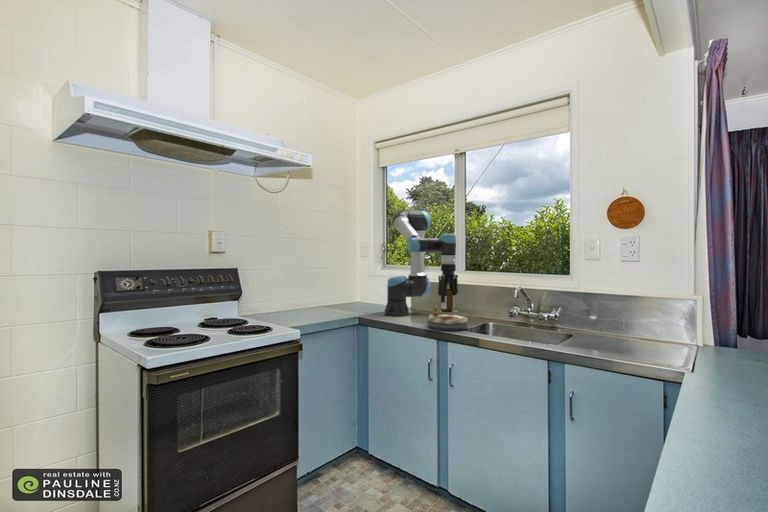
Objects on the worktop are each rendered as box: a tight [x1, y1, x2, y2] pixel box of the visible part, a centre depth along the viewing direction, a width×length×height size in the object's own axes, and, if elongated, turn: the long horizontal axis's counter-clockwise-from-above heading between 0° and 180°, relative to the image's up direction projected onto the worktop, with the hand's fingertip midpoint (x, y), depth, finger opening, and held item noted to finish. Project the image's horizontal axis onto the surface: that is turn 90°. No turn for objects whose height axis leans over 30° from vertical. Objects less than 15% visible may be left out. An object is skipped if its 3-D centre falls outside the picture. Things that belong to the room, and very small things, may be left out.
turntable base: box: [427, 314, 469, 332], centre depth 205 cm, size 21×21×5 cm
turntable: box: [428, 305, 469, 324], centre depth 205 cm, size 20×20×6 cm
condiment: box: [438, 287, 458, 314], centre depth 205 cm, size 7×8×12 cm
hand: (448, 307), depth 205 cm, fingers closed on condiment, 6 cm apart
